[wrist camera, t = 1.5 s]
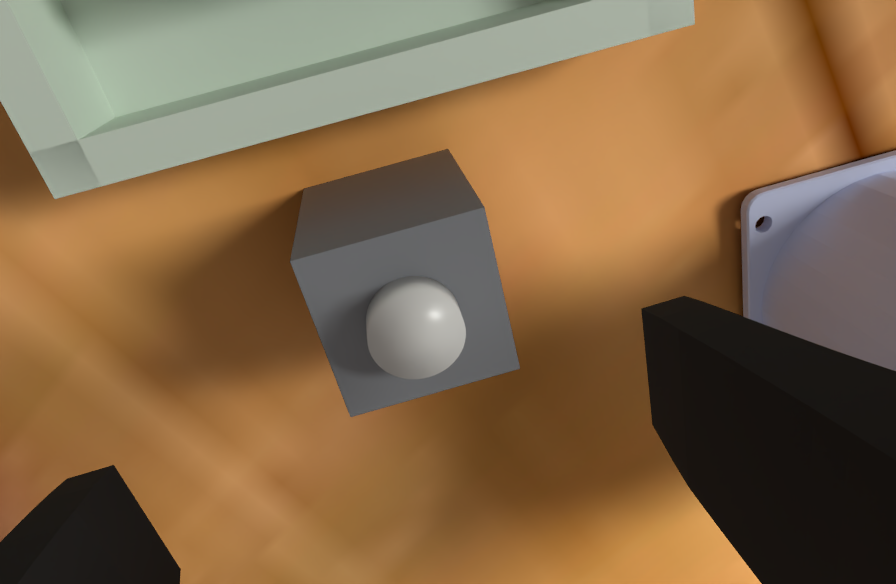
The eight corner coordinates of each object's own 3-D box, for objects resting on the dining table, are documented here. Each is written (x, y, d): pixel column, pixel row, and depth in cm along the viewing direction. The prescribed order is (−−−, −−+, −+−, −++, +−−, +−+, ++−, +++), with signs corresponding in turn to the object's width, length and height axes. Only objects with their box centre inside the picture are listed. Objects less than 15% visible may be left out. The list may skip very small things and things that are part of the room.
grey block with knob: (478, 277, 19) (529, 388, 14) (348, 314, 19) (350, 439, 14) (448, 148, 17) (492, 220, 12) (303, 188, 17) (286, 278, 12)
